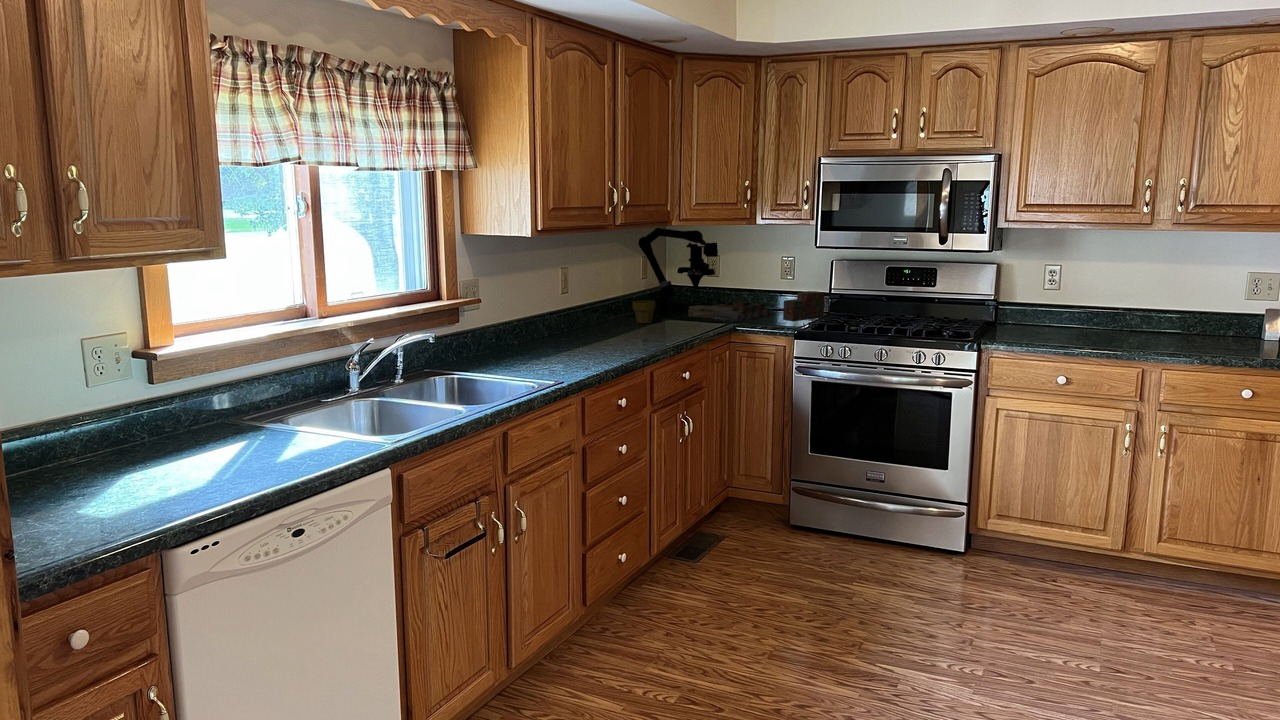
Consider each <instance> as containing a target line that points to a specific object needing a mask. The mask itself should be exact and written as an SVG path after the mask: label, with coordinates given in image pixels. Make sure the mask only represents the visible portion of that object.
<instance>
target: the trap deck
mask: <svg viewBox="0 0 1280 720" xmlns="http://www.w3.org/2000/svg"><path fill="white" fill-rule="evenodd" d="M732 309H733V304H725V303H720V304H715V305H714V304H713V305H704V304H703V305H702V304H697V305H696V304H695V305H692V306H688V310H687V311H688V314H687V315H688V317H689V318H691V317H693V318H699V317H701V319H708V318H711V319H712V320H717V319H719V320H718V321H726V320H729V321H728V322H735V321H739V322H743V321H748V320H752V319H757V318H761V317H762V318H763V317H767V316H770V308H767V307H766V303H764V302H763V303H762V302H761V303H756V304H750V306H744V307H739V312H738V311H732ZM711 319H710V320H711ZM742 320H743V321H742Z"/></svg>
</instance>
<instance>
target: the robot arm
mask: <svg viewBox="0 0 1280 720" xmlns="http://www.w3.org/2000/svg"><path fill="white" fill-rule="evenodd" d="M659 237H663V238H664V237H665V238H666V237H667V238H674V239H681V240H685V241H688V244H686V248H689V250H690V252H689V256H690V257H689V258H688V262H689V266H682V267H681V266H680V267H678V269H677V270H676V271H677V272H676V273H677V274H681V275H682V274H684V273H686V276H687V277H688V279H689V281H690V282H691V285H692V286H693V288H694V290H698V287H699V285H700V282H701V279H702V278H703V277H705V276H714V275H716V274H715V273H716V272H715V269H714V268H710V264H709V263H707V262H705V260H704V258H703V255H704V256H705V257H706V258H707V257H711V258H715V257H718V253H719V249H718V243H717V242H706V240H704V236H703V233H702V232H701V231H700V230H694V229H693V230H679V229H678V230H676V229H670V228H669V229H668V228H662V227H656V228H654V230H653V231H651V232H650V233H648V234H647V235H645V236H641V237H640V238H638V246H639V248H640V249H641V252H642V253H644V255H645V256H646V257H647V260H648V262H649V265H650V267H651V268H652V270H653V273H654V275H655V278H656V279H657V281H658V283H659V286H660V288H659V289H660V290H661V291H660V293H658V294H657V299H658V300H657V301H656V311H654V314H658V315H669V314H673V311H671V300H670V299H671V298H673V297H674V295H675V291H674V290H675V287H674V286H673V284H672V282H671V280H667V279H666V276H665V275H664V273H663V270H662V268H661V267H660V264H659V262H658V260H657V258H656V256H655V254H654V251H653V247H652V243H653V242H654V241H655V240H656V239H658V238H659ZM698 244H700V245H698Z"/></svg>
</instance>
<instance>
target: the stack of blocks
mask: <svg viewBox="0 0 1280 720" xmlns="http://www.w3.org/2000/svg"><path fill="white" fill-rule="evenodd" d="M796 297H797V298H794V299H786V300H784V301H783V310H782V313H783V314H782V320H783V321H790V322H799V321H805V320H813V319H815V320H816V319H822V318H821V317H823V318H825V317H824V316H825V302H826V301H825V300H826V299H825V292H824V291H816V290H815V291H813V290H811V291H810V290H808V291H802V292H797V296H796Z"/></svg>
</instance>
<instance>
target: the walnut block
mask: <svg viewBox="0 0 1280 720" xmlns="http://www.w3.org/2000/svg"><path fill="white" fill-rule="evenodd" d="M732 305H733V309H732V311H738V312H739V307H744V306H750V305H751V302H750V301H739V300H738V301H734V302H732Z"/></svg>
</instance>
